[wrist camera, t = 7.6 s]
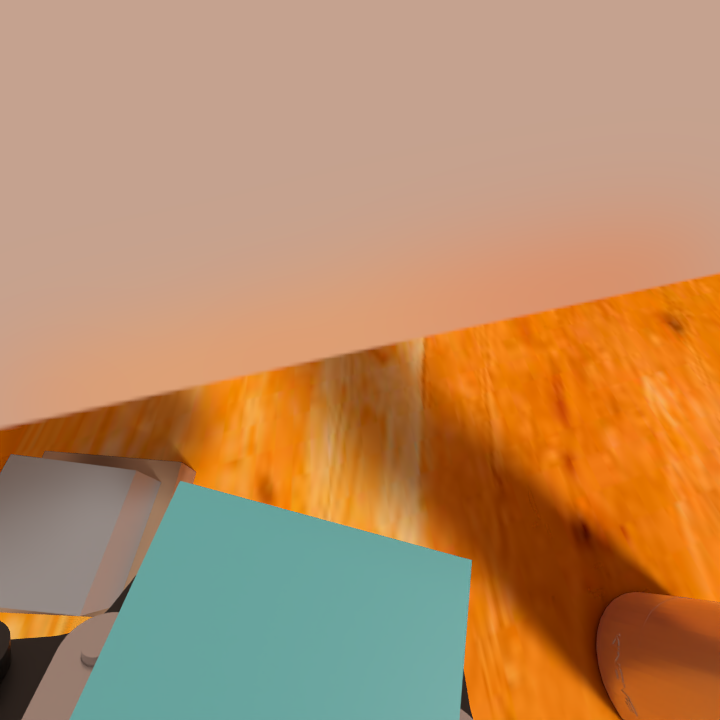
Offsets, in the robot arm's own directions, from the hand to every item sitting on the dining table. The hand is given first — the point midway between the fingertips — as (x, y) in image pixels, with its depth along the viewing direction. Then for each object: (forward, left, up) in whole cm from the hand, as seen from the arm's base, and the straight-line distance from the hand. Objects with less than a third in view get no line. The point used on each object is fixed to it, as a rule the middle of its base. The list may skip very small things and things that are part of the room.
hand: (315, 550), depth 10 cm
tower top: (+14, 0, -15) cm, 21 cm away
